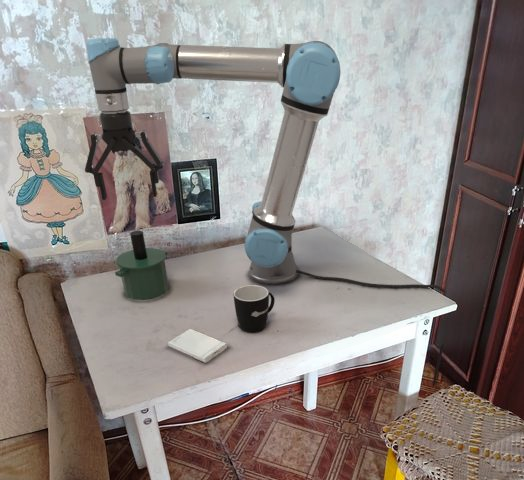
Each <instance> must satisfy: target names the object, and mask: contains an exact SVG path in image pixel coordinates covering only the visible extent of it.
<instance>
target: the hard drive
mask: <svg viewBox="0 0 524 480" xmlns="http://www.w3.org/2000/svg"><path fill="white" fill-rule="evenodd" d="M167 344H168V347H170V348H172V349H174V350H177V351H178V352H181V353H184V354H186V355H188V356H191V357H192V358H194V359H196V360H198V361H200V362H201V363H205V364H206V363H208V362H209V361H211V360H212V359H214V358H215V357H217V356H218V355H220V354H221V353H223V352H224V351H226V350H227V348H228V343H227V342H224V341H222V340H219V339H216V338H214V337H212V336H209V335H207V334H205V333H202V332H199V331H196V330H194V329H193V328H189V329H187V330H186V331H184V332H182V333H181V334H179V335H177V336H175V338H173V339H171V340H170V341H169V342H168V343H167Z"/></svg>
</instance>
